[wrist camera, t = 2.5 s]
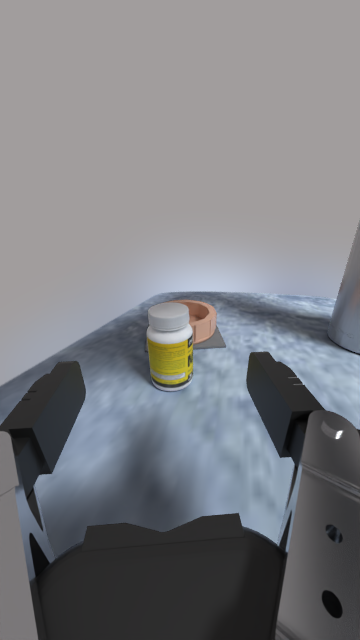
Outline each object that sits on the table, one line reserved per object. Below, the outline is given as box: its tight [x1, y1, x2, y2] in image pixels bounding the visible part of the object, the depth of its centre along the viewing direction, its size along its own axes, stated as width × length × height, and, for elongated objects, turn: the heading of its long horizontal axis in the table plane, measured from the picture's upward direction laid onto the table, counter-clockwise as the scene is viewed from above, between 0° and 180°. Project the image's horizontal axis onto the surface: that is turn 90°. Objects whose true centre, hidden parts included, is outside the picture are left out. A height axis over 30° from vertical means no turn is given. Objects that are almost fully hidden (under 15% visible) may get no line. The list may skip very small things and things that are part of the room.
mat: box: [145, 325, 226, 352], centre depth 35 cm, size 11×11×1 cm
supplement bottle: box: [147, 302, 193, 391], centre depth 23 cm, size 5×5×8 cm
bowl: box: [164, 300, 217, 345], centre depth 34 cm, size 10×10×3 cm
